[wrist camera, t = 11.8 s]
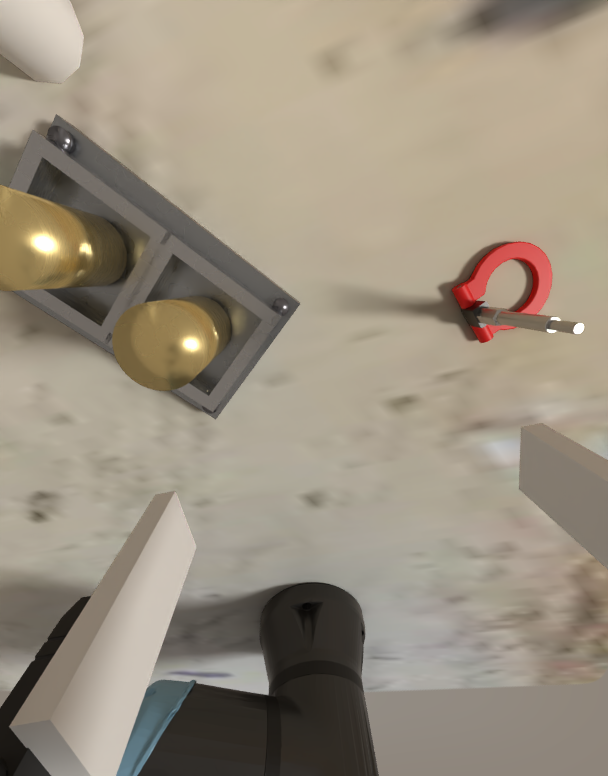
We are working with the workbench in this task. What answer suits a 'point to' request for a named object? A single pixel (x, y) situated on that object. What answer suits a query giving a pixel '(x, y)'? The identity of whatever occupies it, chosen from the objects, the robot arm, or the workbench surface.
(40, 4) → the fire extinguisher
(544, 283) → the tow hook
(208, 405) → the housing
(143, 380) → the sleeve
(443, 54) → the workbench surface
